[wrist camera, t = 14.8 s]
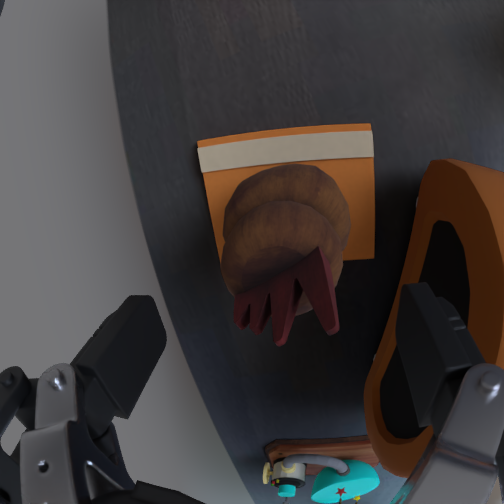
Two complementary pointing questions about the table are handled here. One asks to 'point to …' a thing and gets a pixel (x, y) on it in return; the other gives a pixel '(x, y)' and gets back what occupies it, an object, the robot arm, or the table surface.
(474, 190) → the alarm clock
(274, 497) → the table surface
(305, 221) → the wooden figurine
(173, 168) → the table surface
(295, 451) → the contraption on wooden base
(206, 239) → the table surface
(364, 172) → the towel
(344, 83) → the table surface
